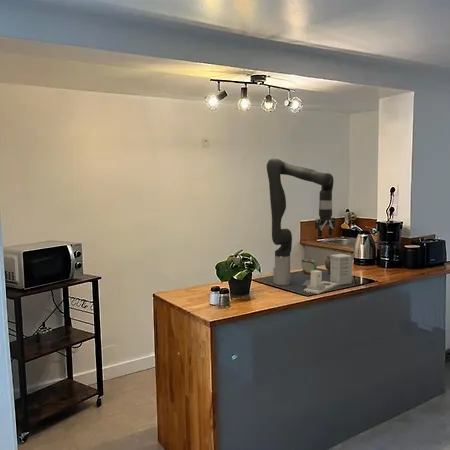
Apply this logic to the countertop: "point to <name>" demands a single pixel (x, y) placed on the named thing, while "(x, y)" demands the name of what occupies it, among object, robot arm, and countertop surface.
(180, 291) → the countertop surface
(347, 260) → the supplement box
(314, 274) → the charger
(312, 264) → the food container
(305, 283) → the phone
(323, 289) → the pale grey tray
